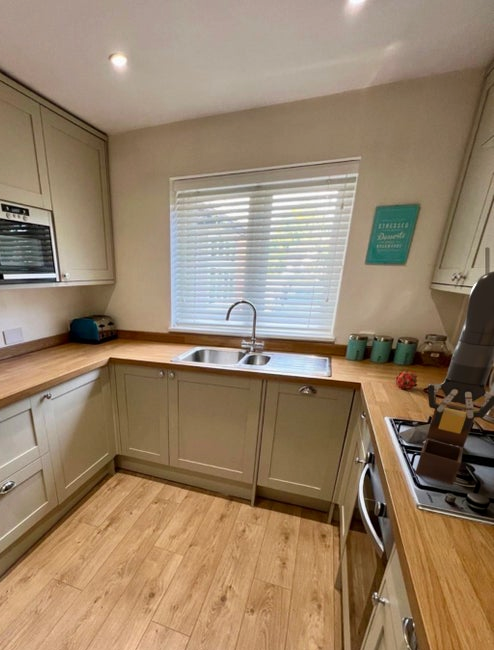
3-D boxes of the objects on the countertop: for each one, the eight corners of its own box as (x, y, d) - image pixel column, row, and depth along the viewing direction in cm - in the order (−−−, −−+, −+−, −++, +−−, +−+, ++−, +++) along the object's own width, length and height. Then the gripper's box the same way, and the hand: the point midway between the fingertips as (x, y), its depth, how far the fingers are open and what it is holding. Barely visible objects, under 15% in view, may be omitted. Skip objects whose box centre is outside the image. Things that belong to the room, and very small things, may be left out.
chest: (453, 485, 84) (460, 463, 82) (415, 473, 89) (421, 452, 87) (455, 468, 91) (463, 447, 89) (420, 458, 96) (426, 438, 94)
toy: (461, 428, 84) (466, 412, 82) (460, 433, 81) (465, 417, 79) (439, 423, 87) (444, 407, 85) (438, 428, 84) (443, 412, 82)
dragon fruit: (405, 387, 161) (404, 397, 153) (391, 375, 163) (389, 385, 154) (421, 376, 156) (421, 386, 147) (406, 364, 157) (405, 373, 148)
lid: (475, 415, 82) (477, 403, 85) (435, 407, 87) (439, 396, 90) (463, 447, 89) (466, 434, 92) (426, 437, 94) (430, 426, 97)
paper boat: (396, 439, 105) (389, 421, 112) (403, 453, 107) (396, 434, 114) (440, 427, 98) (431, 409, 106) (447, 442, 101) (437, 423, 108)
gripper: (511, 364, 76) (486, 430, 82) (436, 354, 85) (418, 415, 91) (513, 370, 71) (486, 441, 77) (432, 359, 79) (414, 424, 85)
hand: (449, 427), depth 84 cm, fingers closed on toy, 4 cm apart
